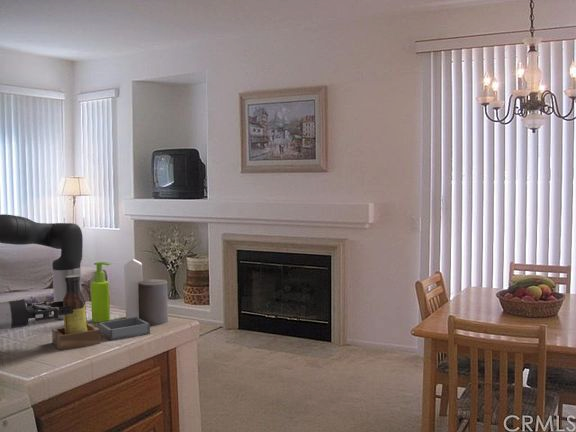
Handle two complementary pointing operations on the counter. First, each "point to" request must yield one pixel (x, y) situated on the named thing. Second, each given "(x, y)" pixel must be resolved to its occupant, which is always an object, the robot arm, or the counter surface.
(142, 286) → the pillar candle
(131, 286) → the milk
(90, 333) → the collar
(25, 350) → the counter surface
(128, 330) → the tray
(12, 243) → the robot arm
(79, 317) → the sauce bottle
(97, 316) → the soap dispenser
